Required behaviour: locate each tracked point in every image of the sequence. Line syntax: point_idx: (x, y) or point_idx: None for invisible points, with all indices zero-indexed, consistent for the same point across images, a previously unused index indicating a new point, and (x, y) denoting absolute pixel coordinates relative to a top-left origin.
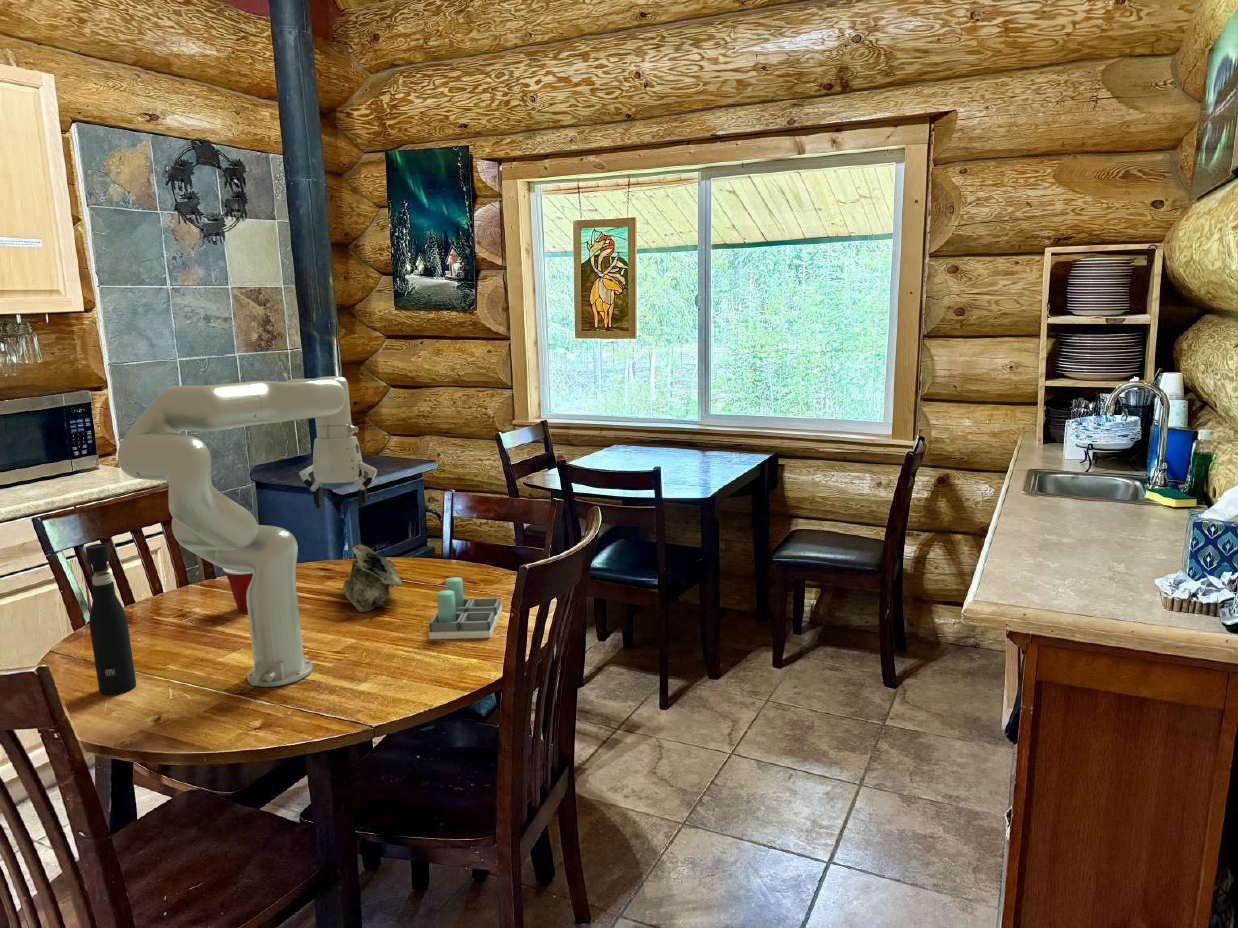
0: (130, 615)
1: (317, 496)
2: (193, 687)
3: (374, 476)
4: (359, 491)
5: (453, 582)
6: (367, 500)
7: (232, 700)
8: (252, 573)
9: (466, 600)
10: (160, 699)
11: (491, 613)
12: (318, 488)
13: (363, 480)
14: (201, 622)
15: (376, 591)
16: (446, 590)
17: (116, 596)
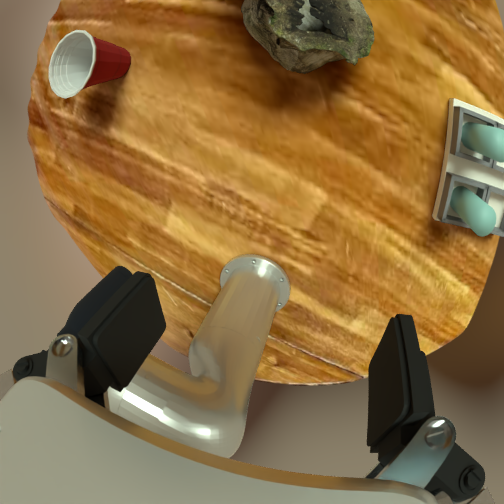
0: (37, 109)
1: (133, 371)
2: (181, 291)
3: (479, 498)
4: (378, 447)
5: (500, 162)
6: (422, 354)
7: None
8: (87, 81)
9: (489, 122)
10: (170, 305)
11: None
12: (103, 386)
13: (420, 480)
14: (90, 116)
15: (328, 54)
16: (487, 206)
17: (75, 330)
